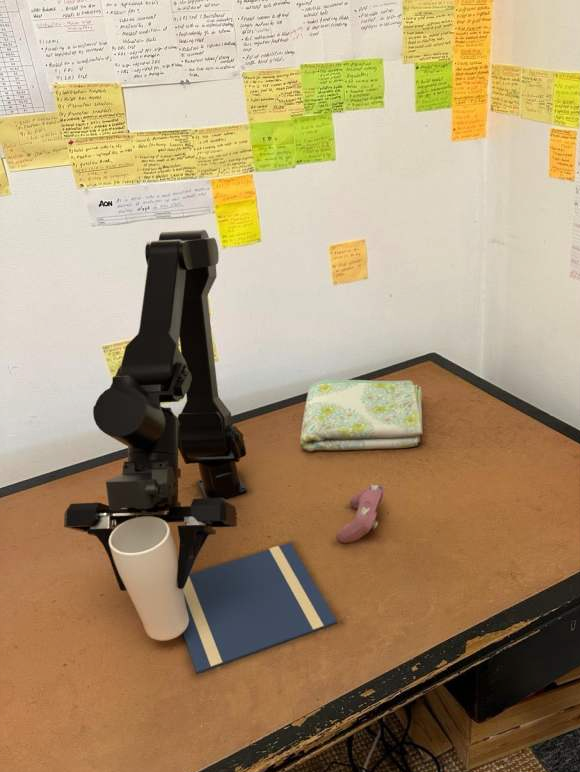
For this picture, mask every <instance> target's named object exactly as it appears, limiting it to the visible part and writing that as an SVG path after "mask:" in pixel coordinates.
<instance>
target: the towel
mask: <svg viewBox="0 0 580 772" xmlns="http://www.w3.org/2000/svg"><path fill="white" fill-rule="evenodd" d="M422 397H423V387H422V386H419V385H418V384H414V382H413V380H409V379H408V380H407V379H405V380H368V379H324V380H318V381H316V382H314V383H311V384H310V385H309V388H308V390H307V396H306V400H305V406H304V411H303V417H302V423H301V430H300V438H299V445H300V447H301V448H303V450H306V451H308V452H315V451H356V450H357V451H359V450H361V451H363V450H365V451H366V450H386V449H387V450H388V449H389V450H390V449H406V448H414V447H418V444H420V443H421V436H423V409H422V408H423V407H422V399H423V398H422Z"/></svg>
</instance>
